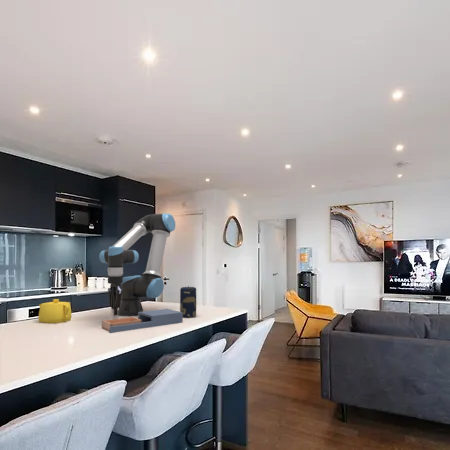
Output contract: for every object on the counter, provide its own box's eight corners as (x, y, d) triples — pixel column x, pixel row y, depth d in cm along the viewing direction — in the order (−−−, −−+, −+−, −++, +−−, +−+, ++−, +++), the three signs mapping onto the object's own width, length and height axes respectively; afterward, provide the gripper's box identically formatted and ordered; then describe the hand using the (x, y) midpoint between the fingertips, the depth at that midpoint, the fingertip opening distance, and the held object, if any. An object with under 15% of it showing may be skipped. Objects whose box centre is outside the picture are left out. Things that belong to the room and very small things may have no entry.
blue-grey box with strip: (97, 327, 173) (98, 316, 173) (166, 318, 198) (167, 308, 198) (110, 332, 160) (111, 321, 161) (182, 322, 186) (182, 312, 186)
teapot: (30, 322, 187) (31, 299, 188) (48, 318, 199) (49, 297, 200) (59, 324, 181) (59, 301, 182) (76, 320, 192) (77, 298, 193)
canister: (197, 315, 208) (197, 285, 210) (194, 318, 199) (194, 286, 200) (181, 315, 209) (182, 284, 211) (178, 317, 200) (178, 286, 201)
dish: (101, 327, 171) (102, 320, 172) (132, 323, 182) (132, 317, 182) (110, 331, 163) (110, 324, 163) (141, 327, 173) (142, 320, 174)
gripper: (103, 275, 185) (102, 320, 183) (113, 276, 175) (112, 324, 173) (116, 274, 190) (116, 318, 188) (127, 275, 180) (126, 322, 178)
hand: (114, 321), depth 181 cm, fingers closed
